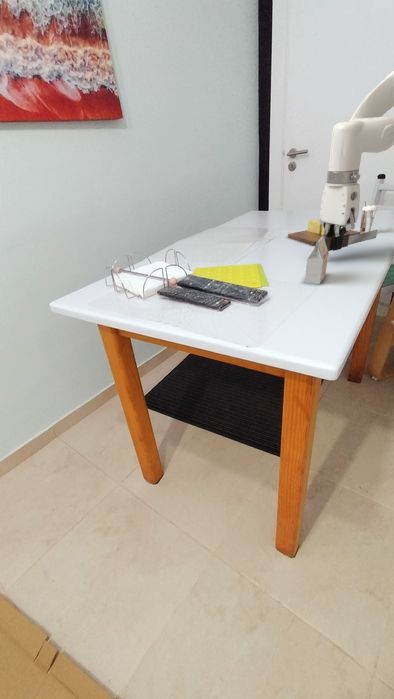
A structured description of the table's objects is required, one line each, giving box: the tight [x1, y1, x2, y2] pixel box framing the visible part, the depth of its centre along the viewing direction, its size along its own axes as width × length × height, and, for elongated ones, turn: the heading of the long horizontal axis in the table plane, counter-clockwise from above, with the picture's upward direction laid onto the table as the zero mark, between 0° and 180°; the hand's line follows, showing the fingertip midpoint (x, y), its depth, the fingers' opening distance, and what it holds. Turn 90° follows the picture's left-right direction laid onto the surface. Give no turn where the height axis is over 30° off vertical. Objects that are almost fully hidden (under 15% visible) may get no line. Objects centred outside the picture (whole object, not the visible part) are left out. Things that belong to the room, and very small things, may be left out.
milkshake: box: [359, 200, 378, 233], centre depth 117 cm, size 4×5×10 cm
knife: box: [324, 229, 378, 252], centre depth 98 cm, size 21×2×4 cm, turn 114°
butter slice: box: [321, 224, 332, 235], centre depth 116 cm, size 4×1×4 cm, turn 114°
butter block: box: [307, 218, 322, 234], centre depth 120 cm, size 4×6×4 cm, turn 24°
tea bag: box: [304, 236, 330, 285], centre depth 84 cm, size 4×7×10 cm, turn 151°
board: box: [287, 227, 360, 247], centre depth 119 cm, size 20×14×1 cm
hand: (333, 248), depth 97 cm, fingers closed on knife, 2 cm apart
